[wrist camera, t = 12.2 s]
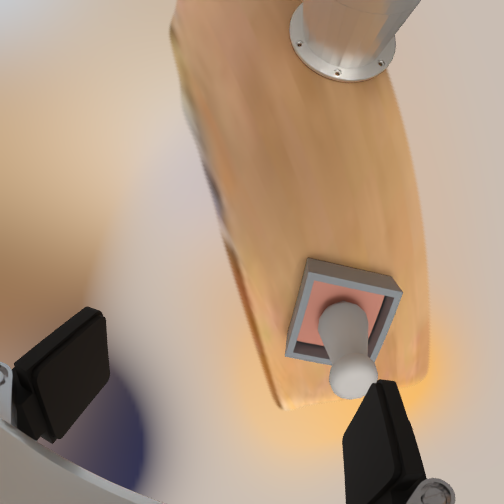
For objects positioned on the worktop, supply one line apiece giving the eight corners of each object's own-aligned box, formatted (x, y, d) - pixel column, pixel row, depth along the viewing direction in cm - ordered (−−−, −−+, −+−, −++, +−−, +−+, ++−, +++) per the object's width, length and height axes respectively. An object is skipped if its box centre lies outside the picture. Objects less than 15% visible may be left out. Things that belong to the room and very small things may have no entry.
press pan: (314, 272, 36) (315, 275, 35) (384, 288, 35) (386, 291, 34) (296, 336, 38) (296, 340, 38) (361, 348, 38) (362, 352, 37)
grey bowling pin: (374, 314, 35) (401, 382, 23) (340, 345, 37) (352, 418, 25) (340, 284, 35) (358, 347, 22) (306, 318, 36) (307, 389, 24)
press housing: (307, 257, 37) (308, 271, 32) (391, 276, 36) (403, 292, 32) (287, 335, 41) (284, 356, 36) (364, 349, 40) (370, 371, 35)
